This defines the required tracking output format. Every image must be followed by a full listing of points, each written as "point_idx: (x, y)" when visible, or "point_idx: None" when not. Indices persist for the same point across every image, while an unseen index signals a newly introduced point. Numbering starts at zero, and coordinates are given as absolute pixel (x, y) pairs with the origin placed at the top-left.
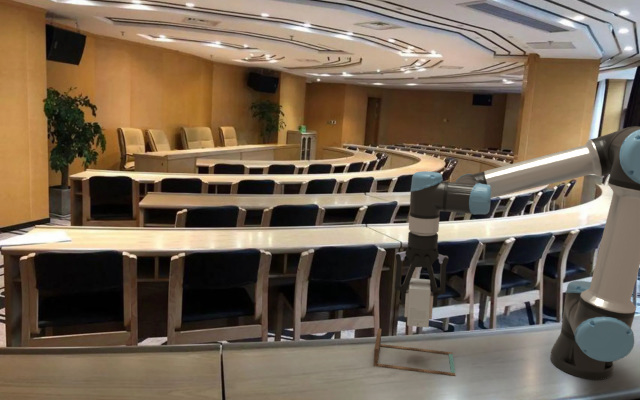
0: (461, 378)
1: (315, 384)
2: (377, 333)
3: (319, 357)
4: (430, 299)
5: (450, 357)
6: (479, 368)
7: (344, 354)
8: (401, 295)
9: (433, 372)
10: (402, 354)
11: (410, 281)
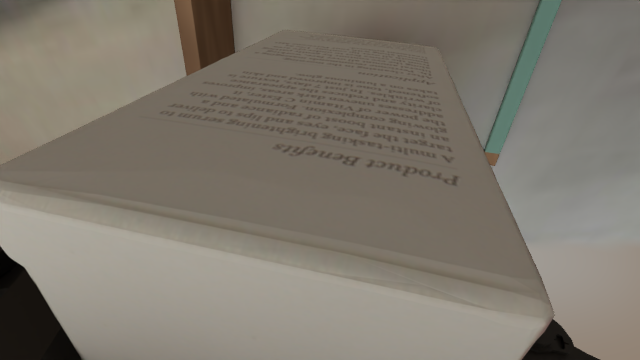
0: (510, 174)
1: None
2: (178, 18)
3: (71, 93)
4: None
5: (534, 35)
6: (633, 103)
7: (126, 63)
8: None
9: None
10: (321, 29)
11: (72, 343)
